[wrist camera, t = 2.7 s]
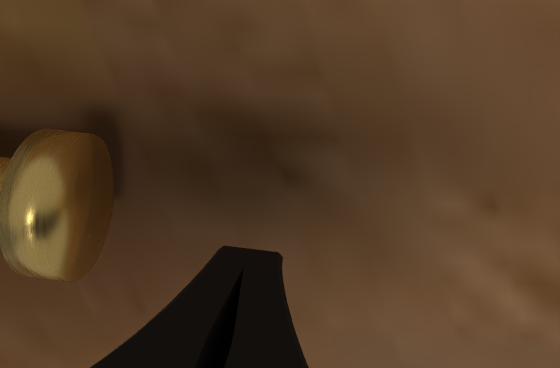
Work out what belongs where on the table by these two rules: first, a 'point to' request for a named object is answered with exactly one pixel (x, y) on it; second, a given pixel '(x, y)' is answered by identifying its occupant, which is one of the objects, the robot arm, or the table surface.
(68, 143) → the pin
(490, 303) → the table surface
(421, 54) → the table surface
